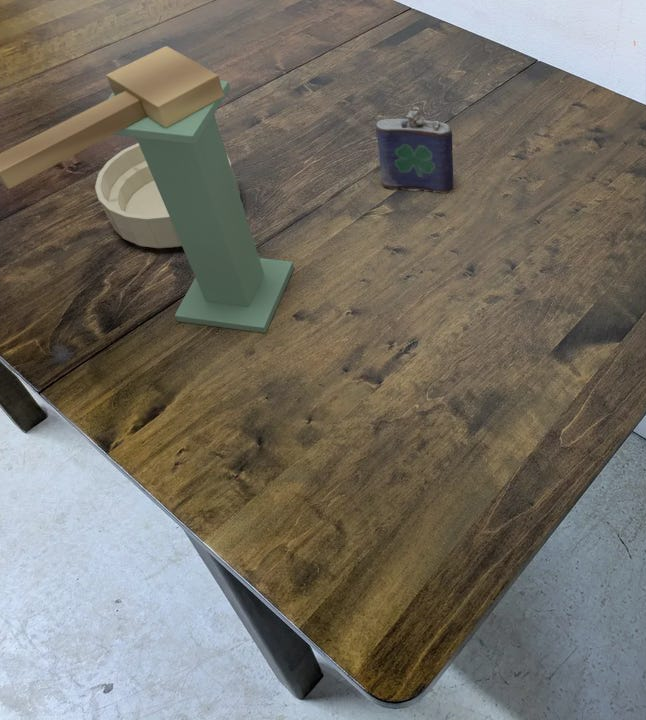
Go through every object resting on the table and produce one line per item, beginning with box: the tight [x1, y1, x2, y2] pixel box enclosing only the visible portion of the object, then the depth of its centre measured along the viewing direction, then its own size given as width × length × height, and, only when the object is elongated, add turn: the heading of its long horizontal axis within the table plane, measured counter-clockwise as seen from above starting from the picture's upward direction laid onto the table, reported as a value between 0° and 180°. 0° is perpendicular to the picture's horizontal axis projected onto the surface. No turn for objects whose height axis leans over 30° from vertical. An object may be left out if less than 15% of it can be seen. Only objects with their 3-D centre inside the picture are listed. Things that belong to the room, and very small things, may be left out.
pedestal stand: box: [106, 80, 295, 334], centre depth 71 cm, size 10×10×25 cm
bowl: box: [94, 142, 241, 249], centre depth 87 cm, size 15×15×6 cm
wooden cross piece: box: [0, 45, 224, 190], centre depth 58 cm, size 7×18×2 cm, turn 141°
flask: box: [375, 106, 454, 194], centre depth 89 cm, size 9×3×11 cm, turn 84°
